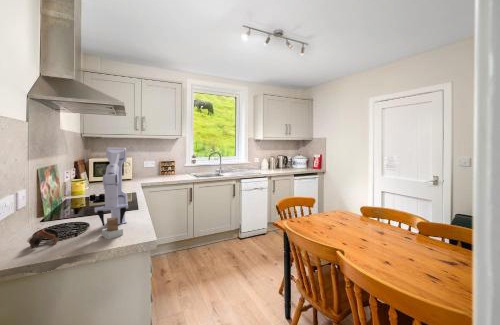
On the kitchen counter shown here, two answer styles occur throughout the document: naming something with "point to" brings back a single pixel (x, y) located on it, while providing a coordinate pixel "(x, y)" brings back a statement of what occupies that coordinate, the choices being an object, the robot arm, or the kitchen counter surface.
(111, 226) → the walnut block
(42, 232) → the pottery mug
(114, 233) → the base block
